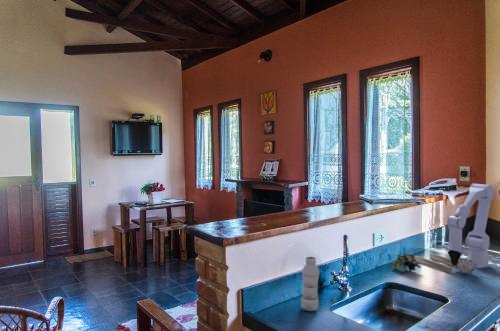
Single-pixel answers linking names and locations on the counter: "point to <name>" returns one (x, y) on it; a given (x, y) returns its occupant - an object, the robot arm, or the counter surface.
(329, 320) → the counter surface
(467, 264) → the beige textured ball
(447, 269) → the chute
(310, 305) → the plastic bottle
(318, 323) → the counter surface
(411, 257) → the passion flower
